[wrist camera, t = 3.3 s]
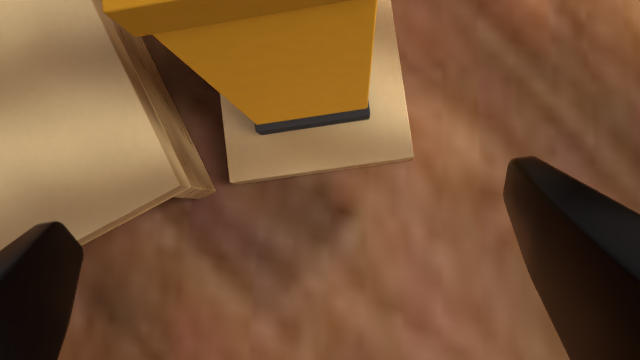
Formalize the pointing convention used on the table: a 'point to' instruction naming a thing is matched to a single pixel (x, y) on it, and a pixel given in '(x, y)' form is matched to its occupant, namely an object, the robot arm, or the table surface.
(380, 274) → the table surface
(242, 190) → the table surface
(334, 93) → the rain boot
